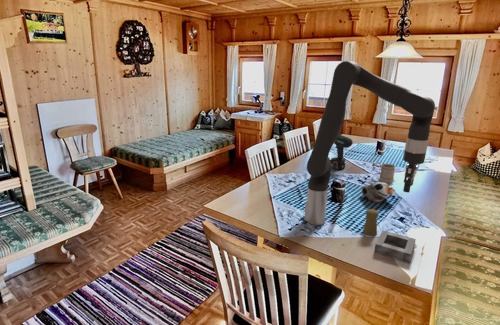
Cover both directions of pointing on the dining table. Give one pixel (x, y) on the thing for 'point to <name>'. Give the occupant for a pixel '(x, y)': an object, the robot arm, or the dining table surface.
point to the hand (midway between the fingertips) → (407, 188)
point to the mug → (386, 172)
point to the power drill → (340, 152)
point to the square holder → (395, 246)
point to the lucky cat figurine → (377, 191)
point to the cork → (371, 223)
